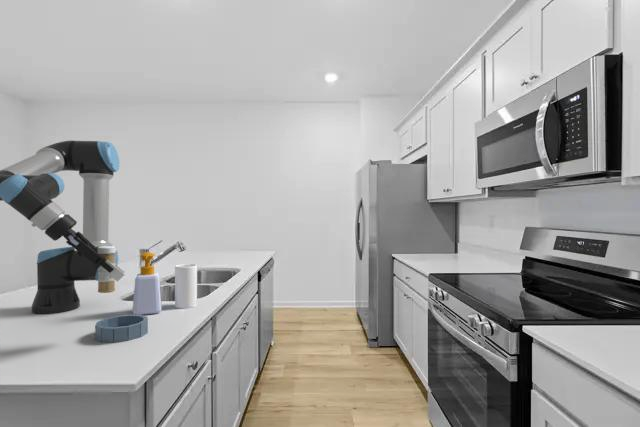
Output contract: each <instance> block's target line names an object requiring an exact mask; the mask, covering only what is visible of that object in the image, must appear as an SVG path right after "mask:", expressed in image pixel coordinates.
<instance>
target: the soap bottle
mask: <svg viewBox="0 0 640 427" xmlns="http://www.w3.org/2000/svg"><path fill="white" fill-rule="evenodd" d="M140 257H141V261H144V265H143V266H140V273H138V274H137V275H136V276H135V279H134V288H133V290H134V291H133V300H132V315H143V316H145V315H152V314H153V315H154V314H159V313H161V311H162V296H161V294H162V293H161V284H160V275H159V273H158V272H155V266H154V265H150V264H151V263H150V262H151V261H153V260H154V257H156V254H154V253H152V252H150V251H148V252H147V251H146V252H143V253H142V254H140V255H139V258H140Z"/></svg>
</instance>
